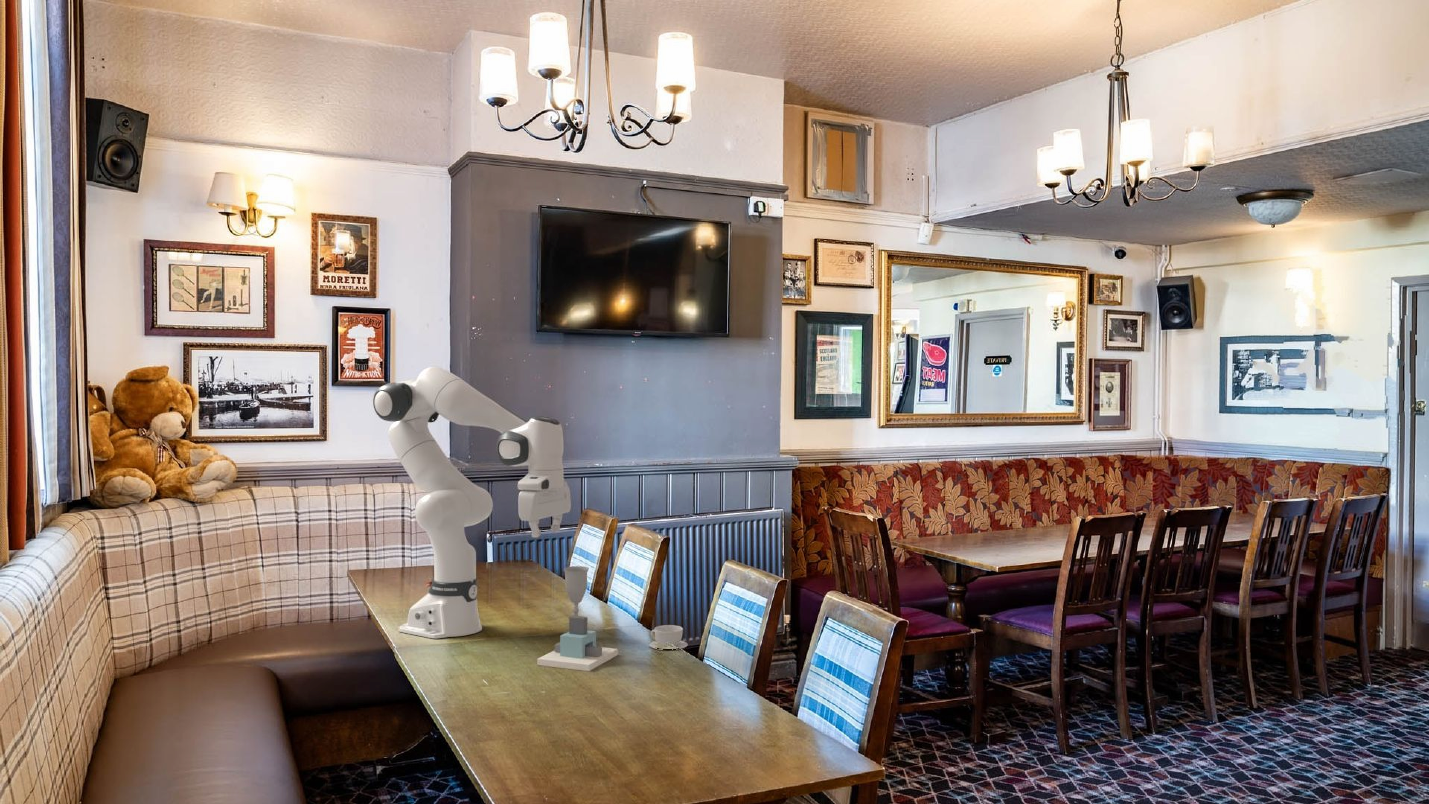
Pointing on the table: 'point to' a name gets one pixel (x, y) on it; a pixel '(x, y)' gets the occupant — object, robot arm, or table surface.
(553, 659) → the cleat board
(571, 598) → the chalice
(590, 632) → the block
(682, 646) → the teacup
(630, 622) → the table surface
